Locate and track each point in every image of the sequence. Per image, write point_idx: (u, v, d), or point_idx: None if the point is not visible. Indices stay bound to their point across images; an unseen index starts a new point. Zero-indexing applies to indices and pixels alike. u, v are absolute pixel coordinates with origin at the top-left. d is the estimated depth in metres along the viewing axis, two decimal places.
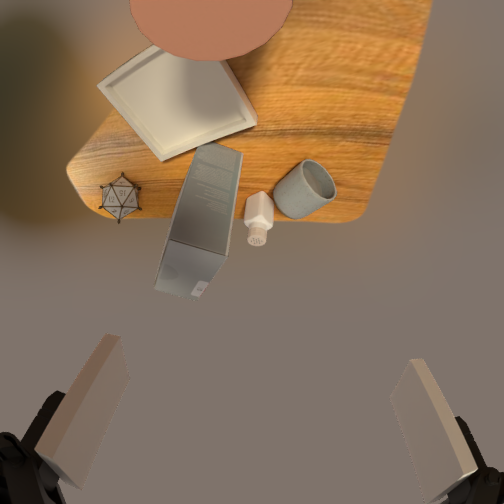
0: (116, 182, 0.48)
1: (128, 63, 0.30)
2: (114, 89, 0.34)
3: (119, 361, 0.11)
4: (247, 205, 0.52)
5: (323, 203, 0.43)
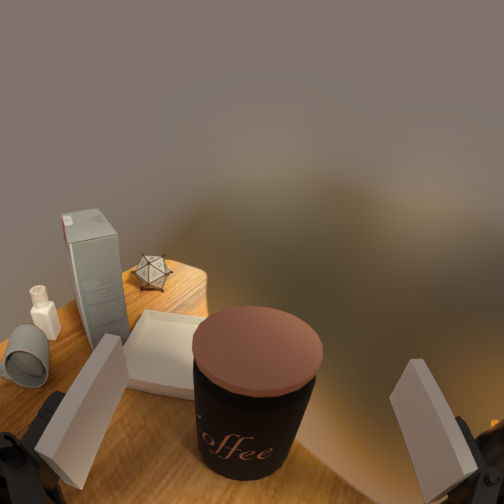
0: (163, 279, 0.60)
1: None
2: None
3: (119, 361, 0.11)
4: (57, 320, 0.43)
5: (9, 348, 0.28)
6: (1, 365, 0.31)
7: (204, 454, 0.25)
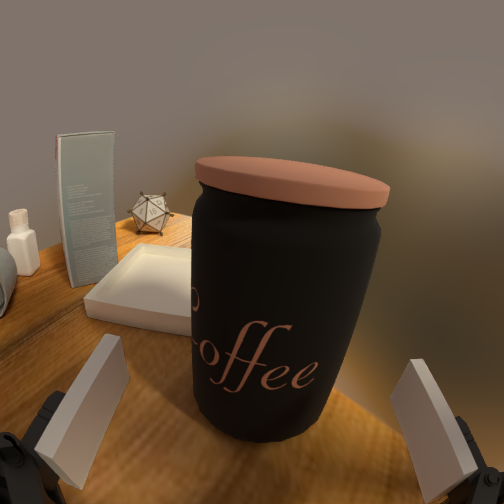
0: (163, 219, 0.53)
1: None
2: None
3: (119, 361, 0.11)
4: (37, 252, 0.36)
5: None
6: None
7: (201, 395, 0.18)
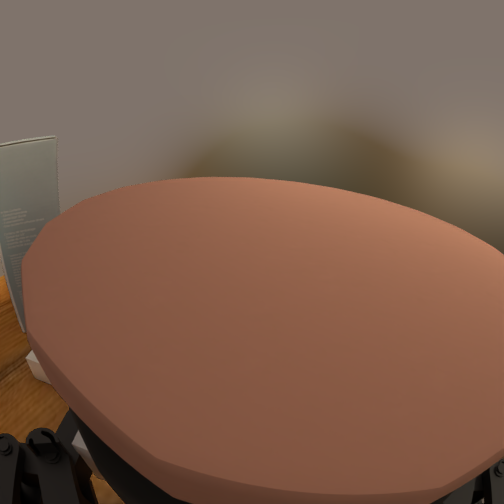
0: None
1: None
2: None
3: None
4: None
5: None
6: None
7: None
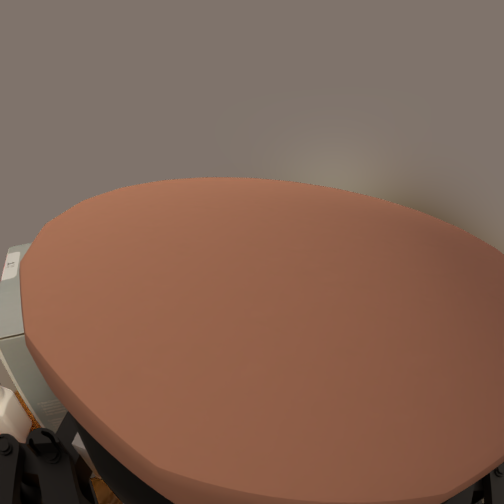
0: None
1: None
2: None
3: None
4: (23, 414, 0.21)
5: None
6: None
7: None
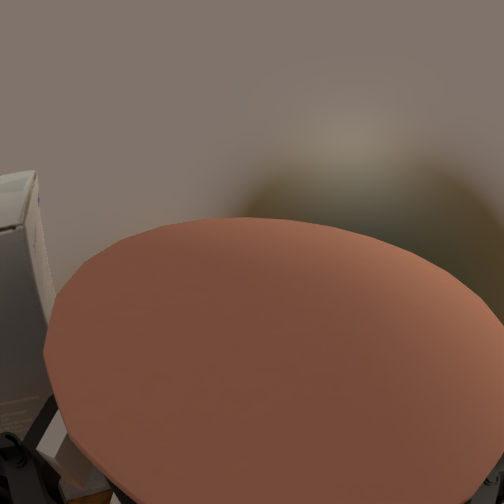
0: None
1: None
2: None
3: None
4: None
5: None
6: None
7: None
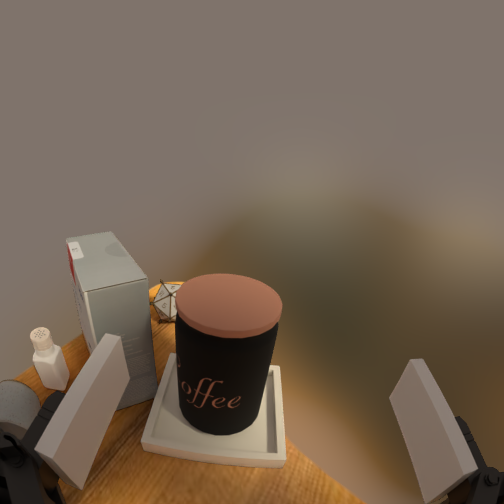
0: None
1: (280, 397, 0.37)
2: None
3: (119, 361, 0.11)
4: (65, 366, 0.34)
5: None
6: None
7: (183, 407, 0.31)
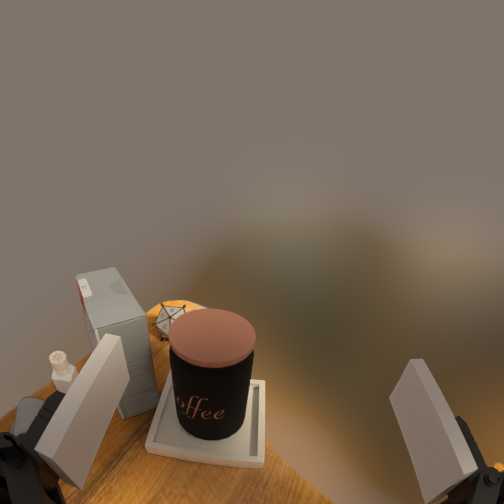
0: None
1: (263, 408, 0.43)
2: (250, 388, 0.48)
3: (119, 361, 0.11)
4: None
5: (18, 427, 0.24)
6: None
7: (179, 417, 0.37)
